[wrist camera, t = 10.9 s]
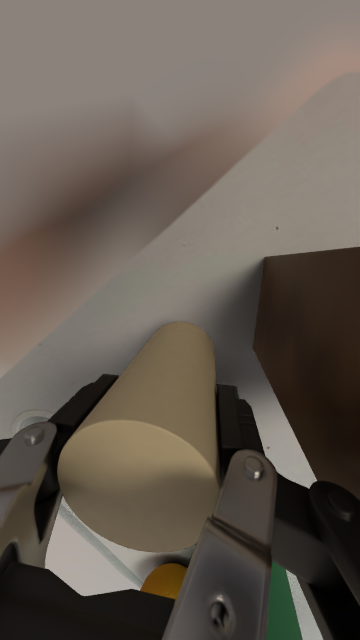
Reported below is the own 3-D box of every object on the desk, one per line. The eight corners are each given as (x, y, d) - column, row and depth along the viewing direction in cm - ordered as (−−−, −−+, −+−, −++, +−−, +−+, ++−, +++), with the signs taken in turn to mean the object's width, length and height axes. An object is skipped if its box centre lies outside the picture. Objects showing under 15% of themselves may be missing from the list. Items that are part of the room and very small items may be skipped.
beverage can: (260, 510, 24) (305, 738, 12) (290, 557, 25) (357, 805, 14) (199, 525, 26) (189, 734, 14) (229, 568, 27) (243, 793, 16)
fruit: (172, 595, 30) (160, 708, 23) (134, 560, 29) (108, 665, 22) (221, 578, 28) (225, 698, 20) (181, 540, 27) (170, 649, 19)
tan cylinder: (148, 319, 15) (46, 410, 6) (217, 324, 15) (230, 433, 5) (148, 380, 17) (65, 536, 7) (212, 386, 16) (215, 568, 6)
